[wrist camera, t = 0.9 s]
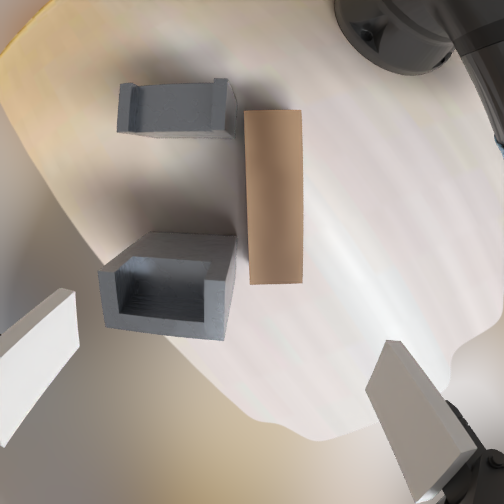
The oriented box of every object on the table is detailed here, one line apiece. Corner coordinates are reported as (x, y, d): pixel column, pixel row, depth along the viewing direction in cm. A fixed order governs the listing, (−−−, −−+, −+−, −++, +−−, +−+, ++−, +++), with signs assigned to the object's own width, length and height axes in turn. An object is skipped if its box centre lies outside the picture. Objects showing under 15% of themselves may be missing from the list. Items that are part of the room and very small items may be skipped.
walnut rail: (293, 118, 31) (301, 109, 25) (295, 262, 36) (302, 283, 30) (246, 119, 31) (243, 110, 25) (251, 264, 36) (249, 284, 30)
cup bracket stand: (244, 102, 30) (235, 69, 18) (235, 278, 36) (223, 340, 24) (152, 103, 31) (97, 78, 18) (151, 272, 36) (105, 327, 24)
